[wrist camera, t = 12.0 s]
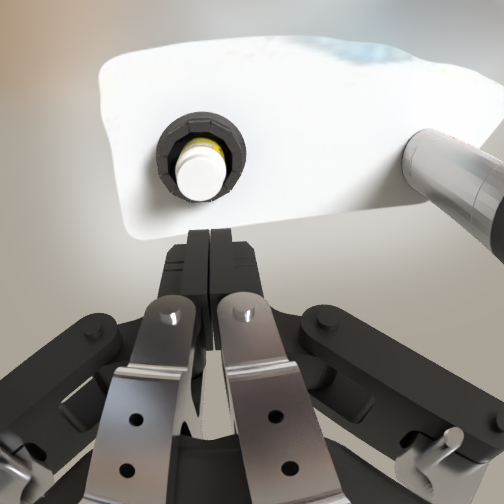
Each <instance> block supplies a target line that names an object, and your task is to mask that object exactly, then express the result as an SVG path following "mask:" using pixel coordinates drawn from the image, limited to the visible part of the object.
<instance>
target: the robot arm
mask: <svg viewBox="0 0 504 504" xmlns="http://www.w3.org/2000/svg"><path fill="white" fill-rule="evenodd" d="M402 170H403V174H404V177H405V179H406V181H407V183H408V184H409V185H410V186H411V187H412V188H414V189H415V190H417V191H418V192H419V193H421V194H422V195H423V196H425V197H426V198H427V199H428V200H430V201H431V202H432V203H434V204H435V205H436V206H437V207H439V208H440V209H441V210H443V211H444V212H445V213H446V214H448V215H449V216H450V217H451V218H452V219H454V220H455V221H456V222H458V224H460V225H461V226H462V227H463V228H464V229H466V230H467V231H468V232H469V233H470V234H471V235H472V236H474V237H475V238H476V239H477V240H479V242H481V243H482V244H483V245H484V246H485V247H486V248H487V249H488V250H489V251H491V253H492V254H494V255H495V256H496V257H497V258H498V259H499V260H500V261H501V262H502V263H503V264H504V162H503V161H501V160H499V159H498V158H496V157H494V156H492V155H490V154H488V153H486V152H484V151H481V150H480V149H478V148H476V147H473V146H471V145H469V144H467V143H465V142H463V141H460V140H458V139H456V138H454V137H452V136H449V135H447V134H444V133H442V132H439V131H437V130H433V129H425V130H422V131H420V132H418V133H416V134H415V135H414V136H413V137H412V138H411V139H410V141H409V142H408V144H407V146H406V148H405V150H404V154H403V159H402ZM213 332H214V341H215V349H216V350H221V358H222V368H223V376H224V383H225V389H226V395H227V401H228V407H229V414H230V419H231V426H232V433H233V435H230V436H226V437H222V438H219V439H215V440H203V433H202V412H203V399H204V385H205V374H206V373H205V372H206V370H205V365H206V351H210V350H213ZM91 376H92V377H93V379H92V380H90V381H89V382H88V383H87V384H85V385H84V386H83V387H82V388H81V389H80V390H78V391H77V392H76V393H75V394H74V395H72V396H71V397H70V398H69V399H68V400H66V401H65V402H63V403H61V402H62V400H63V399H64V398H66V397H67V396H68V395H69V394H70V393H72V392H73V391H74V390H75V389H76V388H78V387H79V386H80V385H81V384H82V383H84V382H85V381H86V380H87V379H88V378H90V377H91ZM313 407H314V408H316V409H317V410H318V411H320V412H321V413H323V414H324V415H325V416H327V417H328V418H330V419H331V420H333V421H334V422H335V423H337V424H338V425H340V426H341V427H343V428H344V429H346V430H347V431H349V432H350V433H352V434H353V435H355V436H356V437H358V438H359V439H361V440H362V441H364V442H366V443H367V444H369V445H370V446H372V447H373V448H375V449H376V450H378V451H379V452H381V453H383V454H384V455H386V456H388V457H389V458H391V459H392V460H394V461H395V473H396V478H397V480H398V481H400V482H401V483H402V484H403V485H405V486H406V487H407V488H408V489H407V488H406V487H404V486H402V485H401V484H399V483H398V482H396V481H395V480H393V479H391V478H390V477H388V476H386V475H385V474H384V473H382V472H381V471H379V470H378V469H376V468H375V467H373V466H372V465H371V464H369V463H368V462H366V461H365V460H363V459H362V458H360V457H359V456H358V455H356V454H355V453H353V452H352V451H351V450H349V449H348V448H346V447H345V446H343V445H341V444H339V443H337V442H335V441H333V440H330V439H328V438H325V437H323V434H322V431H321V428H320V425H319V422H318V420H317V417H316V414H315V411H314V408H313ZM95 438H96V441H95V445H94V449H92V450H91V451H89V452H88V453H87V454H86V455H84V456H83V457H82V458H81V459H80V460H79V461H78V462H77V463H76V464H75V465H74V466H73V467H72V468H71V469H70V470H69V471H67V472H66V473H65V474H64V475H63V476H62V477H61V478H60V479H59V480H58V481H57V482H56V483H55V482H54V479H53V475H54V474H56V473H57V472H58V471H59V470H60V469H61V468H62V467H64V466H65V465H66V464H67V463H68V462H69V461H70V460H72V458H74V457H75V456H76V455H77V454H78V453H79V452H81V451H82V450H83V449H84V448H85V447H86V446H87V445H88V444H89V443H91V442H92V441H93V440H94V439H95ZM503 451H504V402H502V401H501V400H499V399H497V398H495V397H494V396H492V395H490V394H488V393H486V392H485V391H483V390H481V389H479V388H477V387H476V386H474V385H472V384H471V383H469V382H467V381H465V380H463V379H462V378H460V377H458V376H457V375H455V374H453V373H451V372H449V371H448V370H446V369H444V368H443V367H441V366H439V365H437V364H436V363H434V362H432V361H430V360H429V359H427V358H425V357H423V356H422V355H420V354H418V353H416V352H415V351H413V350H411V349H410V348H408V347H406V346H404V345H402V344H401V343H399V342H397V341H396V340H394V339H392V338H390V337H389V336H387V335H385V334H384V333H382V332H380V331H378V330H377V329H375V328H373V327H371V326H370V325H368V324H366V323H365V322H363V321H361V320H359V319H358V318H356V317H354V316H352V315H351V314H349V313H347V312H346V311H344V310H342V309H340V308H338V307H335V306H331V305H316V306H313V307H311V308H309V309H307V310H306V311H305V312H304V313H303V315H302V316H297V315H290V314H285V313H282V312H279V311H277V310H275V309H273V308H272V307H271V306H269V304H268V302H267V301H266V300H265V299H264V296H263V292H262V286H261V282H260V277H259V272H258V268H257V262H256V258H255V252H254V249H253V248H252V247H251V246H250V245H249V244H248V243H247V242H246V241H245V242H244V241H243V242H232V235H231V228H227V229H211V236H210V233H209V229H206V230H189V232H188V238H187V244H177V245H174V246H173V247H172V248H171V249H170V250H169V251H168V253H167V256H166V260H165V264H164V269H163V274H162V279H161V283H160V288H159V293H158V297H157V299H156V300H154V301H153V302H151V303H150V304H149V305H148V307H147V308H146V310H145V314H144V316H143V317H142V318H140V319H137V320H134V321H130V322H126V323H122V324H118V325H117V323H116V321H115V319H114V318H113V317H112V316H110V315H107V314H104V313H94V314H90V315H87V316H85V317H83V318H82V319H80V320H79V321H77V322H76V323H75V324H74V325H72V326H70V327H69V328H68V329H67V330H65V331H64V332H62V333H61V334H60V335H58V336H57V337H56V338H54V339H53V340H52V341H50V342H49V343H48V344H47V345H45V346H44V347H42V348H41V349H40V350H38V351H37V352H36V353H35V354H33V355H32V356H31V357H29V358H28V359H27V360H25V361H24V362H23V363H22V364H20V365H19V366H18V367H16V368H15V369H14V370H13V371H11V372H10V373H9V374H8V375H6V376H5V377H4V378H3V379H1V380H0V504H471V502H472V500H473V498H474V496H475V494H476V491H477V489H478V487H479V485H480V482H481V480H482V478H483V476H484V473H485V471H486V468H487V466H488V463H489V462H490V461H491V460H492V459H493V458H495V457H496V456H497V455H499V454H500V453H501V452H503Z"/></svg>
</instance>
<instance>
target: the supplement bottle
mask: <svg viewBox="0 0 504 504" xmlns="http://www.w3.org/2000/svg"><path fill="white" fill-rule="evenodd" d="M175 173H176V179H177V185H178V188H179V190H180V191H181V193H182V194H183V195H184V196H186V197H187V198H189V199H191V200H194V201H205V200H208V199H211V198H212V197H214V196H215V195H216V194H217V193H218V192H219V191H220V189H221V187H222V184H223V181H224V179H225V176H226V166H225V159H224V154H223V150H222V147H221V146H220V144H219V143H218V142H217V141H216V140H215V139H213V138H211V137H208V136H197V137H194V138H192V139H190V140H189V141H188V142H187V143H186V144H185V145H184V147H183V148H182V151H181V153H180V156H179V158H178V161H177V164H176V169H175Z"/></svg>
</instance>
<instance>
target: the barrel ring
mask: <svg viewBox="0 0 504 504" xmlns="http://www.w3.org/2000/svg"><path fill="white" fill-rule="evenodd" d="M197 136H208V137H211V138H213V139H215V140H216V141H217V142H218V143H219V144H220V146H221V147H222V150H223V154H224V159H225V166H226V176H225V179H224V181H223V184H222V187H221V189H220V191H219V192H218V193H217V194H216V195H215V196H214V197H212V198H211V199H212V201H214V200H216V199H218V198H220V197H221V196H223V195H225V194H227V193H229V192H230V190H232V188H233V187H234V185H235V184H236V182H237V180H238V179H239V177H240V176H241V173H242V171H243V169H244V166H245V162H246V147H245V143H244V139H243V137H242V135H241V133H240V132H239V130H238V129H237V127H236V126H235V125H234V124H233V123H232V122H230V121H229V120H228V119H226V118H225V117H223V116H220V115H218V114H215V113H211V112H194V113H189V114H186V115H184V116H182V117H180V118H178V119H176V120H175V121H174V122H172V123H171V124H170V125H169V126H168V127H167V129H166V130H165V131H164V132H163V134H162V136H161V138H160V140H159V143H158V146H157V153H156V159H157V165H158V171H159V175H160V179H161V180H162V181H163V183H164V184H165V186H166V187H167V188H168V190H169V191H170V193H171V192H172V194H173V195H175V196H177V197H180V198H182V199H184V200H186V201H188V202H190V201H191V203H194V202H211V199H208V200H205V201H194V200H191V199H189V198H187V197H186V196H184V195H183V194H182V193H181V191H180V190H179V188H178V185H177V179H176V173H175V169H176V164H177V161H178V158H179V156H180V153H181V151H182V148H183V147H184V145H185V144H186V143H187V142H188V141H189V140H190V139H192V138H194V137H197Z"/></svg>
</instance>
